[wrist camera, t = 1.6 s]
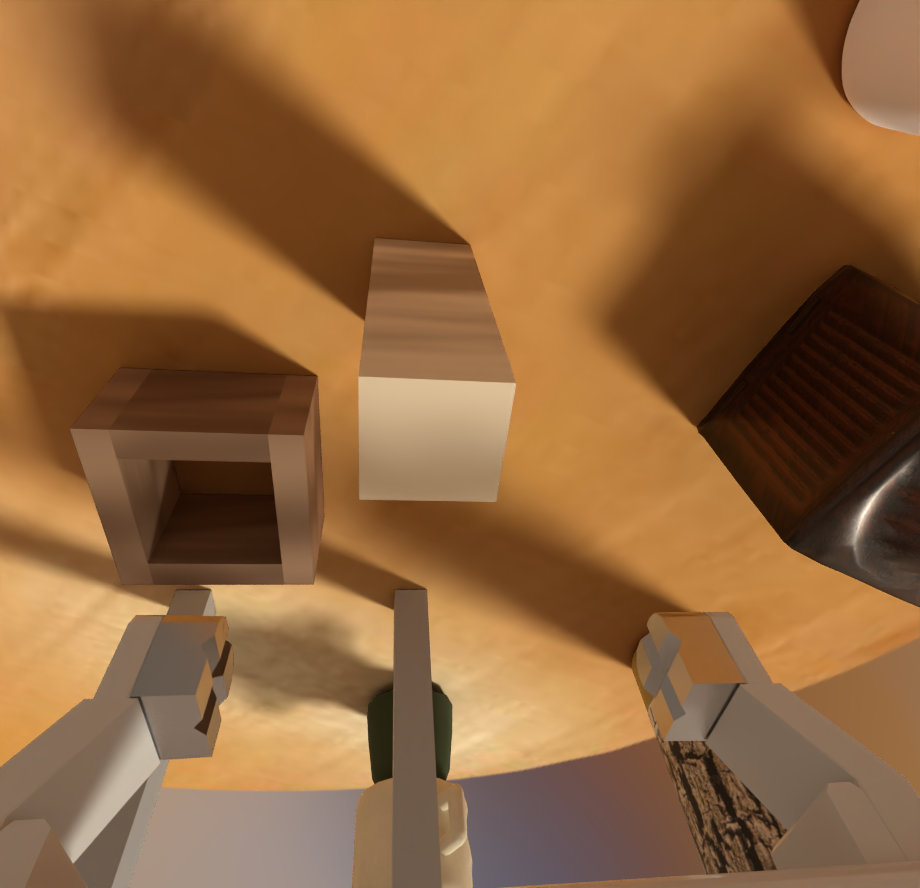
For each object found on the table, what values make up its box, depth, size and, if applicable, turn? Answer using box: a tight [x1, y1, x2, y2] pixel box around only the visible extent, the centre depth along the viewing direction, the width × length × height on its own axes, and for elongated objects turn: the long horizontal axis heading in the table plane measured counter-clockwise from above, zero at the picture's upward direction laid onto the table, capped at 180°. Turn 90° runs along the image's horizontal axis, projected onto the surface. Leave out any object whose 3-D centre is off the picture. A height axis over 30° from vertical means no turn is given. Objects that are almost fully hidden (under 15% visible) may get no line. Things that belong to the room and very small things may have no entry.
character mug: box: [352, 690, 473, 888], centre depth 39 cm, size 11×7×13 cm, turn 146°
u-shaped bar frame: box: [73, 590, 442, 888], centre depth 25 cm, size 6×16×27 cm, turn 85°
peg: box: [359, 238, 516, 502], centre depth 21 cm, size 4×4×12 cm
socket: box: [70, 368, 324, 585], centre depth 28 cm, size 9×9×5 cm
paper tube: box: [632, 649, 788, 874], centre depth 33 cm, size 7×7×25 cm
